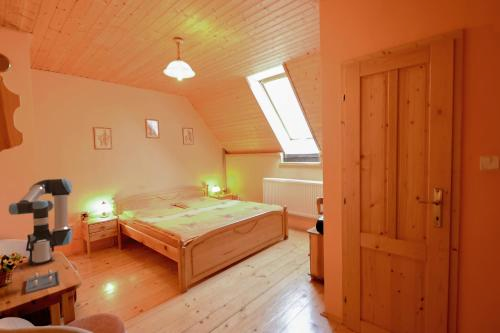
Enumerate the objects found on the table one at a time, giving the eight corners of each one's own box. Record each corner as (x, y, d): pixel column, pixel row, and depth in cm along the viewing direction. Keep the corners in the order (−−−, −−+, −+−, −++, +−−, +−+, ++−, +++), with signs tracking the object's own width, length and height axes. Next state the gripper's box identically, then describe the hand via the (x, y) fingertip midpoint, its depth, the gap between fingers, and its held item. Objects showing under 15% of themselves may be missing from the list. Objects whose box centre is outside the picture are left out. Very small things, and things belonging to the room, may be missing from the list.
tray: (27, 280, 163) (27, 272, 163) (58, 272, 173) (57, 265, 173) (25, 294, 146) (25, 285, 146) (59, 284, 156) (59, 277, 156)
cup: (53, 258, 161) (52, 240, 161) (38, 263, 154) (37, 244, 153) (46, 256, 164) (45, 238, 164) (31, 261, 157) (30, 242, 157)
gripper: (18, 228, 149) (19, 265, 149) (61, 222, 162) (62, 256, 163) (19, 225, 155) (20, 261, 155) (61, 220, 168) (62, 253, 169)
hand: (42, 258), depth 159 cm, fingers closed on cup, 8 cm apart
